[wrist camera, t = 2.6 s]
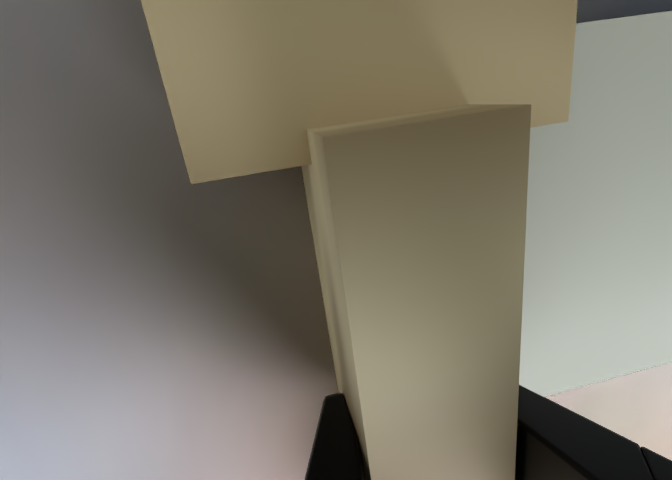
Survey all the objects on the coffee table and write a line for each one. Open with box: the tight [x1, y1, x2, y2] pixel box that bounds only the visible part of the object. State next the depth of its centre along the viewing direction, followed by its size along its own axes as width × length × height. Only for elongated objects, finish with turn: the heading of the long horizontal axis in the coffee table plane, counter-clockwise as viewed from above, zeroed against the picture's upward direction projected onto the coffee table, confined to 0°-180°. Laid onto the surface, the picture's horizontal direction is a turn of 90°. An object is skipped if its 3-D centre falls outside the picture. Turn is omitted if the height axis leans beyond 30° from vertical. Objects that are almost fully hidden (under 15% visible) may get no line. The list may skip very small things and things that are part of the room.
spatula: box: [141, 0, 578, 480], centre depth 7 cm, size 20×6×4 cm, turn 8°
